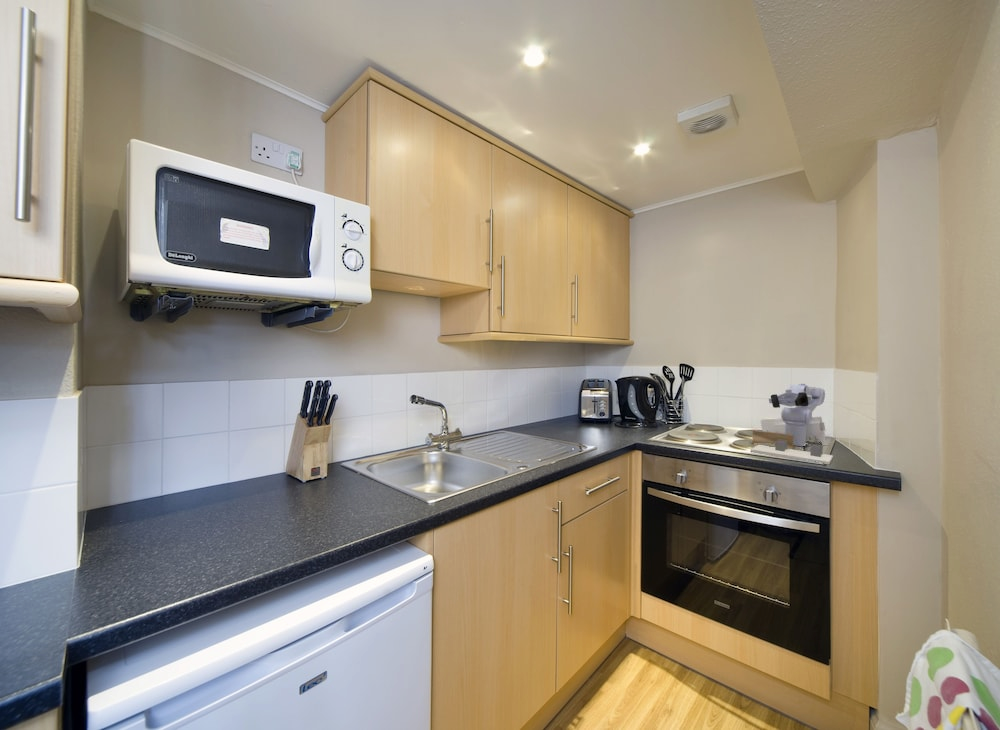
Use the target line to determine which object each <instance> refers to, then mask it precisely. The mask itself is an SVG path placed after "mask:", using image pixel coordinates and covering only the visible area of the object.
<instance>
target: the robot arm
mask: <svg viewBox="0 0 1000 730" xmlns="http://www.w3.org/2000/svg"><path fill="white" fill-rule="evenodd" d="M788 387H789V388H788V389H785V392H784V393H783V392H782V394H779V395H778V394H776V393H775V394H772V395H770V397H769V398H768V402H769V404H772V405H771V406H772V407H773V408H776V409H777V408H781V405H782V406H784V407H783V408H782V409H781V413H780V415H781V417H780V418H782V420H783V421H784V423H786V428H785V434H789V435H794V442H793V446H794V447H795V446H797V447H802V448H803V446H804V444H805V443H806V442H807V440H806V439H807V438H806V425H807V424H809V423H810V422H811V419H812V417H813V413H814V410H816V408H817V407H818V406H821V405H823V403H824V402H825V398H826V393H825V390H824V388H820V387H816V386H814V387H813V386H808V385H806V383H799V384H797V385H796V384H790V385H789V386H788ZM785 406H787V407H785Z"/></svg>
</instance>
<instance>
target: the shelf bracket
mask: <svg viewBox="0 0 1000 730" xmlns="http://www.w3.org/2000/svg"><path fill="white" fill-rule="evenodd" d="M760 424H761V429H762V430H761V431H766V432H774V433H781V434H785V428H786V423H784V421H783V420H782V418H781V417H780V418H764V419H761V420H760ZM825 432H827V431H826V425H825V422H824V421H823V419H822V416H812V419H811V422H810V423H809V424H807V425H806V439H810V438H809V437H813V438H814V437H815V439H816V440H817V439H819V440H820V441H821V442H822V444H824V445H827V440H826V439H827V438H826V434H825ZM827 446H828V445H827Z"/></svg>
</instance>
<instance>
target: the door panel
mask: <svg viewBox="0 0 1000 730" xmlns="http://www.w3.org/2000/svg"><path fill="white" fill-rule="evenodd" d="M778 439H780V440H787V449H793V450H794V445H793V442H794V435H789V434H781V433H774V432H766V431H762V430H757V429H753V430H752V442H751V443H752V445H754V443H771V444H775V445H776V441H778Z"/></svg>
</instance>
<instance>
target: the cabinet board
mask: <svg viewBox="0 0 1000 730" xmlns="http://www.w3.org/2000/svg"><path fill="white" fill-rule="evenodd" d="M823 449H824V446H823V445H821V444H814V443H812V445H811V446H810V451H806V450H805V451H804V450H799V449H794V448H793V449H787V440H780V439H778V441H776V445H775V447H769V446H765V445H759V444H758V445H754V446H753V447H752V448H751V449H750V453H756V454H760V455H761V454H762V455H765V456H766V455H768V456H774V457H780V458H786V459H793V460H797V459H798V461H803V460H808V461H807V462H810V461H818V462H822V463H824V465H830V464H831V462H832V460H833V458H834V455H833V454H825V453H823V451H824V450H823ZM822 463H821V464H822Z"/></svg>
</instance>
